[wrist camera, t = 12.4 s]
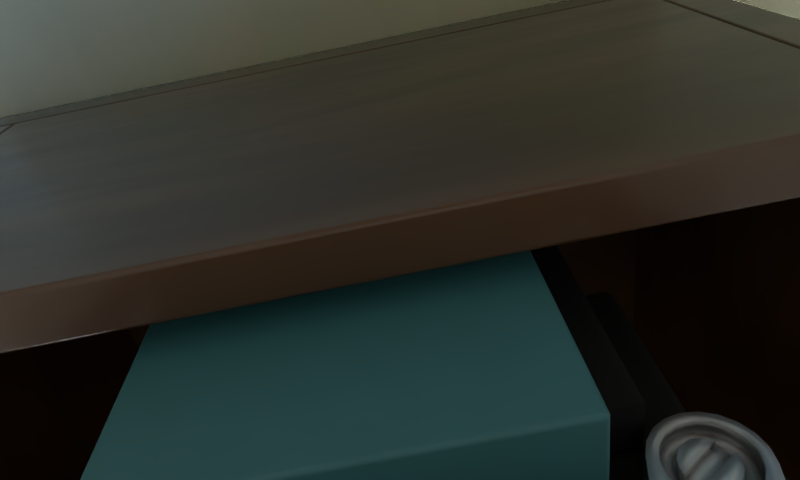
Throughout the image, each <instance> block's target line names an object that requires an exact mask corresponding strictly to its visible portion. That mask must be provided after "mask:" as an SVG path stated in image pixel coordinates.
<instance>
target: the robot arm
mask: <svg viewBox="0 0 800 480" xmlns="http://www.w3.org/2000/svg"><path fill="white" fill-rule="evenodd" d="M530 251H531V253H532V255H533V258H534V260H535V262H536V264H537V266H538V268H539V270H540V272H541V274H542V276H543V278H544V280H545V282H546V284H547V286H548V288H549V290H550V292H551V294H552V296H553V298H554V300H555V302H556V304H557V307H558V309H559V311H560V313H561V315H562V317H563V319H564V321H565V323H566V325H567V327H568V329H569V331H570V333H571V335H572V337H573V339H574V341H575V343H576V345H577V347H578V349H579V351H580V353H581V356H582V358H583V360H584V362H585V364H586V366H587V368H588V370H589V372H590V374H591V376H592V378H593V380H594V382H595V384H596V386H597V388H598V390H599V392H600V394H601V396H602V398H603V400H604V402H605V405H606V407H607V409H608V411H609V413H610V466H609V480H790V479H788V478H785V477H784V474H783V472H782V469H781V466H780V464H779V462H778V460H777V458H776V457H775V455H774V453H773V451H772V450H771V448H770V447H769V446H768V445H767V444H766V443H765V442H764V441H763V440H762V439H761V438H760V437H759V436H758V435H757V434H756V433H755V432H753V431H752V430H750V429H749V428H747V427H745V426H744V425H742V424H741V423H739V422H737V421H734V420H732V419H729V418H726V417H723V416H721V415H718V414H711V413H705V412H686V410H685V409H684V407H683V406H682V404H681V403H680V401H679V399H678V398H677V396H676V395H675V393H674V392H673V390H672V388H671V387H670V385H669V384H668V382H667V381H666V379H665V377H664V376H663V374H662V373H661V371H660V369H659V368H658V366H657V365H656V363H655V362H654V360H653V358H652V357H651V355H650V354H649V352H648V351H647V349H646V347H645V346H644V344H643V343H642V341H641V339H640V338H639V336H638V335H637V333H636V332H635V330H634V328H633V327H632V325H631V324H630V322H629V321H628V319H627V317H626V316H625V314H624V313H623V311H622V310H621V308H620V306H619V305H618V303H617V302H616V300H615V299H614V297H613V296H612V295H611V294H610V293H608V292H602V293H596V294H591V295H586V296H585V295H584V293H583V292H582V290H581V288H580V286H579V284H578V283H577V281H576V279H575V277H574V276H573V274H572V272H571V270H570V269H569V267H568V265H567V263H566V262H565V260H564V258H563V256H562V254H561V253H560V251H559V249H558V247H557V246H556V245H555V246H550V247H545V248H540V249H535V250H530Z"/></svg>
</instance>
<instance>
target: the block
mask: <svg viewBox="0 0 800 480" xmlns="http://www.w3.org/2000/svg"><path fill="white" fill-rule="evenodd" d="M609 466H610V413H609V411H608V409H607V407H606V405H605V402H604V400H603V398H602V396H601V394H600V392H599V390H598V388H597V386H596V384H595V382H594V380H593V378H592V376H591V374H590V372H589V370H588V368H587V366H586V364H585V362H584V360H583V358H582V356H581V353H580V351H579V349H578V347H577V345H576V343H575V341H574V339H573V337H572V335H571V333H570V331H569V329H568V327H567V325H566V323H565V321H564V319H563V317H562V315H561V313H560V311H559V309H558V307H557V304H556V302H555V300H554V298H553V296H552V294H551V292H550V290H549V288H548V286H547V284H546V282H545V280H544V278H543V276H542V274H541V272H540V270H539V268H538V266H537V264H536V262H535V260H534V258H533V255H532V253H531V251H525V252H519V253H514V254H509V255H504V256H499V257H494V258H489V259H484V260H479V261H473V262H468V263H463V264H458V265H453V266H448V267H443V268H438V269H432V270H427V271H422V272H417V273H412V274H407V275H402V276H397V277H392V278H386V279H381V280H376V281H371V282H366V283H361V284H356V285H351V286H345V287H340V288H335V289H330V290H325V291H320V292H315V293H310V294H304V295H299V296H294V297H289V298H284V299H279V300H274V301H269V302H264V303H258V304H253V305H248V306H243V307H238V308H233V309H228V310H223V311H217V312H212V313H207V314H202V315H197V316H192V317H187V318H182V319H177V320H171V321H166V322H161V323H156V324H151V325H150V326H149V328H148V330H147V332H146V335H145V337H144V339H143V341H142V343H141V346H140V348H139V350H138V352H137V354H136V357H135V359H134V361H133V363H132V366H131V368H130V370H129V372H128V374H127V377H126V379H125V381H124V383H123V386H122V388H121V390H120V392H119V394H118V397H117V399H116V401H115V403H114V406H113V408H112V410H111V412H110V414H109V417H108V419H107V421H106V423H105V426H104V428H103V430H102V432H101V434H100V437H99V439H98V441H97V443H96V446H95V448H94V450H93V452H92V454H91V457H90V459H89V461H88V463H87V466H86V468H85V470H84V472H83V474H82V477H81V479H80V480H609Z"/></svg>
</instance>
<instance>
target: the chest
mask: <svg viewBox="0 0 800 480" xmlns="http://www.w3.org/2000/svg"><path fill="white" fill-rule="evenodd" d="M555 245H556V246H557V247H558V249H559V251H560V253H561V254H562V256H563V258H564V260H565V262H566V263H567V265H568V267H569V269H570V270H571V272H572V274H573V276H574V277H575V279H576V281H577V283H578V284H579V286H580V288H581V290H582V292H583V293H584V295H585V296H586V295H591V294H596V293H602V292H608V293H610V294H611V295H612V296H613V297H614V299H615V300H616V302H617V303H618V305H619V306H620V308H621V310H622V311H623V313H624V314H625V316H626V317H627V319H628V321H629V322H630V324H631V325H632V327H633V328H634V330H635V332H636V333H637V335H638V336H639V338H640V339H641V341H642V343H643V344H644V346H645V347H646V349H647V351H648V352H649V354H650V355H651V357H652V358H653V360H654V362H655V363H656V365H657V366H658V368H659V369H660V371H661V373H662V374H663V376H664V377H665V379H666V381H667V382H668V384H669V385H670V387H671V388H672V390H673V392H674V393H675V395H676V396H677V398H678V399H679V401H680V403H681V404H682V406H683V407H684V409H685V410H686V412H705V413H711V414H718V415H721V416H723V417H726V418H729V419H732V420H734V421H737V422H739V423H741V424H742V425H744V426H745V427H747V428H749V429H750V430H752V431H753V432H755V433H756V434H757V435H758V436H759V437H760V438H761V439H762V440H763V441H764V442H765V443H766V444H767V445H768V446H769V447H770V448H771V450H772V451H773V453H774V455H775V457H776V458H777V460H778V462H779V464H780V466H781V469H782V472H783V474H784V477H785V478H788V479H790V480H800V20H798V19H794V18H791V17H787V16H784V15H781V14H777V13H774V12H770V11H767V10H763V9H760V8H757V7H753V6H750V5H746V4H743V3H740V2H736V1H733V0H568V1H563V2H558V3H553V4H548V5H544V6H539V7H534V8H529V9H524V10H520V11H515V12H510V13H505V14H500V15H496V16H491V17H486V18H481V19H476V20H471V21H467V22H462V23H457V24H452V25H447V26H443V27H438V28H433V29H428V30H423V31H418V32H414V33H409V34H404V35H399V36H394V37H390V38H385V39H380V40H375V41H370V42H365V43H361V44H356V45H351V46H346V47H341V48H337V49H332V50H327V51H322V52H317V53H312V54H308V55H303V56H298V57H293V58H288V59H284V60H279V61H274V62H269V63H264V64H260V65H255V66H250V67H245V68H240V69H235V70H231V71H226V72H221V73H216V74H211V75H207V76H202V77H197V78H192V79H187V80H182V81H178V82H173V83H168V84H163V85H158V86H154V87H149V88H144V89H139V90H134V91H129V92H125V93H120V94H115V95H110V96H105V97H101V98H96V99H91V100H86V101H81V102H76V103H72V104H67V105H62V106H57V107H52V108H48V109H43V110H38V111H33V112H28V113H24V114H19V115H14V116H9V117H4V118H0V480H80V479H81V477H82V474H83V472H84V470H85V468H86V466H87V463H88V461H89V459H90V457H91V454H92V452H93V450H94V448H95V446H96V443H97V441H98V439H99V437H100V434H101V432H102V430H103V428H104V426H105V423H106V421H107V419H108V417H109V414H110V412H111V410H112V408H113V406H114V403H115V401H116V399H117V397H118V394H119V392H120V390H121V388H122V386H123V383H124V381H125V379H126V377H127V374H128V372H129V370H130V368H131V366H132V363H133V361H134V359H135V357H136V354H137V352H138V350H139V348H140V346H141V343H142V341H143V339H144V337H145V335H146V332H147V330H148V328H149V326H150V325H151V324H156V323H161V322H166V321H171V320H177V319H182V318H187V317H192V316H197V315H202V314H207V313H212V312H217V311H223V310H228V309H233V308H238V307H243V306H248V305H253V304H258V303H264V302H269V301H274V300H279V299H284V298H289V297H294V296H299V295H304V294H310V293H315V292H320V291H325V290H330V289H335V288H340V287H345V286H351V285H356V284H361V283H366V282H371V281H376V280H381V279H386V278H392V277H397V276H402V275H407V274H412V273H417V272H422V271H427V270H432V269H438V268H443V267H448V266H453V265H458V264H463V263H468V262H473V261H479V260H484V259H489V258H494V257H499V256H504V255H509V254H514V253H519V252H525V251H530V250H535V249H540V248H545V247H550V246H555Z"/></svg>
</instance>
